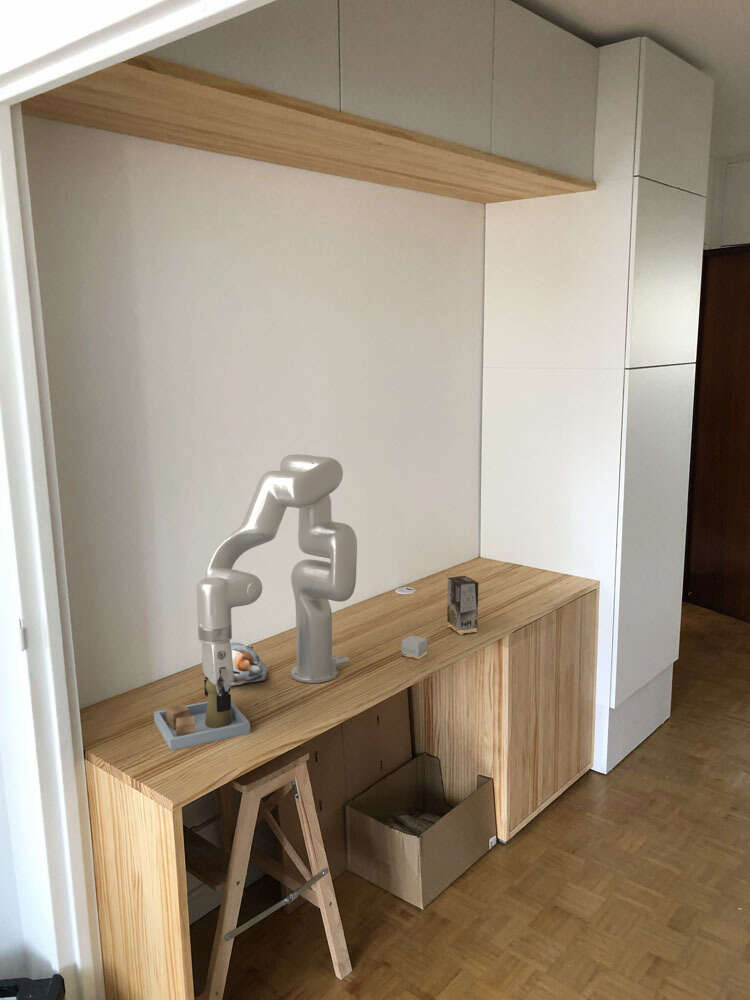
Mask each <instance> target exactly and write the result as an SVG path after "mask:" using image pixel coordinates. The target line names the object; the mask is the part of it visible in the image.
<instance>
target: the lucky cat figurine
mask: <svg viewBox="0 0 750 1000" xmlns="http://www.w3.org/2000/svg"><path fill="white" fill-rule="evenodd" d="M230 644H231V651H232V660H233V672H234V681H233V682H232V683H231V682H230V688H231V687H234V686H240V685H243V684H247V683H255V682H262V681H266V680H267V678H268V675H269V668H268V666H267V665H266V664H265V663H264V662H263V660H262V659H261V657H260V656H259V655H258V653H257V652H255V650H254V647H253V646H252V645H251V644H248V645H245V644H243V643H241V642H230Z"/></svg>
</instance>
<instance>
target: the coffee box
mask: <svg viewBox="0 0 750 1000" xmlns="http://www.w3.org/2000/svg"><path fill="white" fill-rule="evenodd" d="M446 603H447V608H446V611H447V613H446V614H447V615H446V616H447V618H446V619H447V620H446V621H447V622H449V623H450V624H451V625H453V626H454V627H456V628H457V629H459V630H468V629H473V628H477V629H478V617H479V616H478V615H479V614H478V612H479V611H478V609H479V581H476V580H474V579H473V578H470V577H469V576H466V575H460V576H453V577H447V602H446Z"/></svg>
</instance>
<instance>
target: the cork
mask: <svg viewBox="0 0 750 1000" xmlns="http://www.w3.org/2000/svg"><path fill="white" fill-rule="evenodd" d="M220 681H222V680H218V682H220ZM205 686H206V690H207V692H208V696H207V710H206V720H205V725H206V726H207V727H210V728H220V727H225V726H228V725H230V723H231V716H230V710H228V711H223V712H217V703H216V695H218V693H217V689H216V685H214V684H212V683H211V682H210V680H209V679H208V680H207V681H206V685H205ZM222 687H223V685H220V690H221V688H222Z"/></svg>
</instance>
